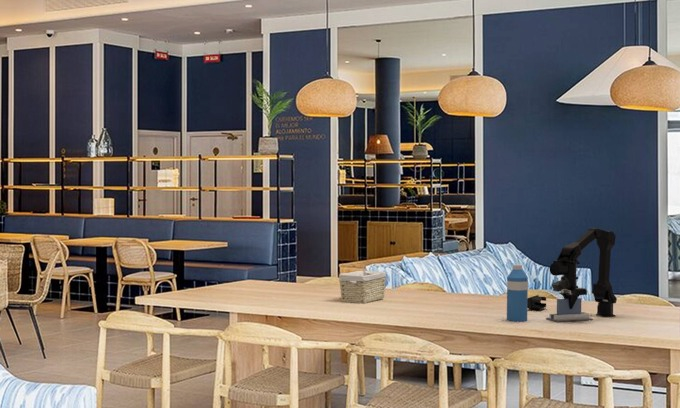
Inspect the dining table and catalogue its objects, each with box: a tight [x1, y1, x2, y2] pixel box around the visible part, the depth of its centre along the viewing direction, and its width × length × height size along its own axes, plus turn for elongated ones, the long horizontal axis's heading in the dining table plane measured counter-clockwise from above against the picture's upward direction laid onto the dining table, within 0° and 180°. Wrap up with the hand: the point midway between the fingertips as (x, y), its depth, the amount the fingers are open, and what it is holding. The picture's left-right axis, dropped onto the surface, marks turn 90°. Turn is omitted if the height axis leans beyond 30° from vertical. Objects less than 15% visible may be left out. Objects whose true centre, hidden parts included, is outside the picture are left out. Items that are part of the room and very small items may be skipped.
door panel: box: [556, 297, 582, 315], centre depth 426 cm, size 12×2×8 cm, turn 111°
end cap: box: [527, 294, 547, 312], centre depth 459 cm, size 10×7×7 cm
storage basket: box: [338, 270, 387, 304], centre depth 492 cm, size 24×16×15 cm
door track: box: [545, 311, 593, 323], centre depth 426 cm, size 18×10×3 cm, turn 111°
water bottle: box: [506, 264, 529, 323], centre depth 424 cm, size 9×9×25 cm
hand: (569, 308), depth 426 cm, fingers closed on door panel, 2 cm apart
